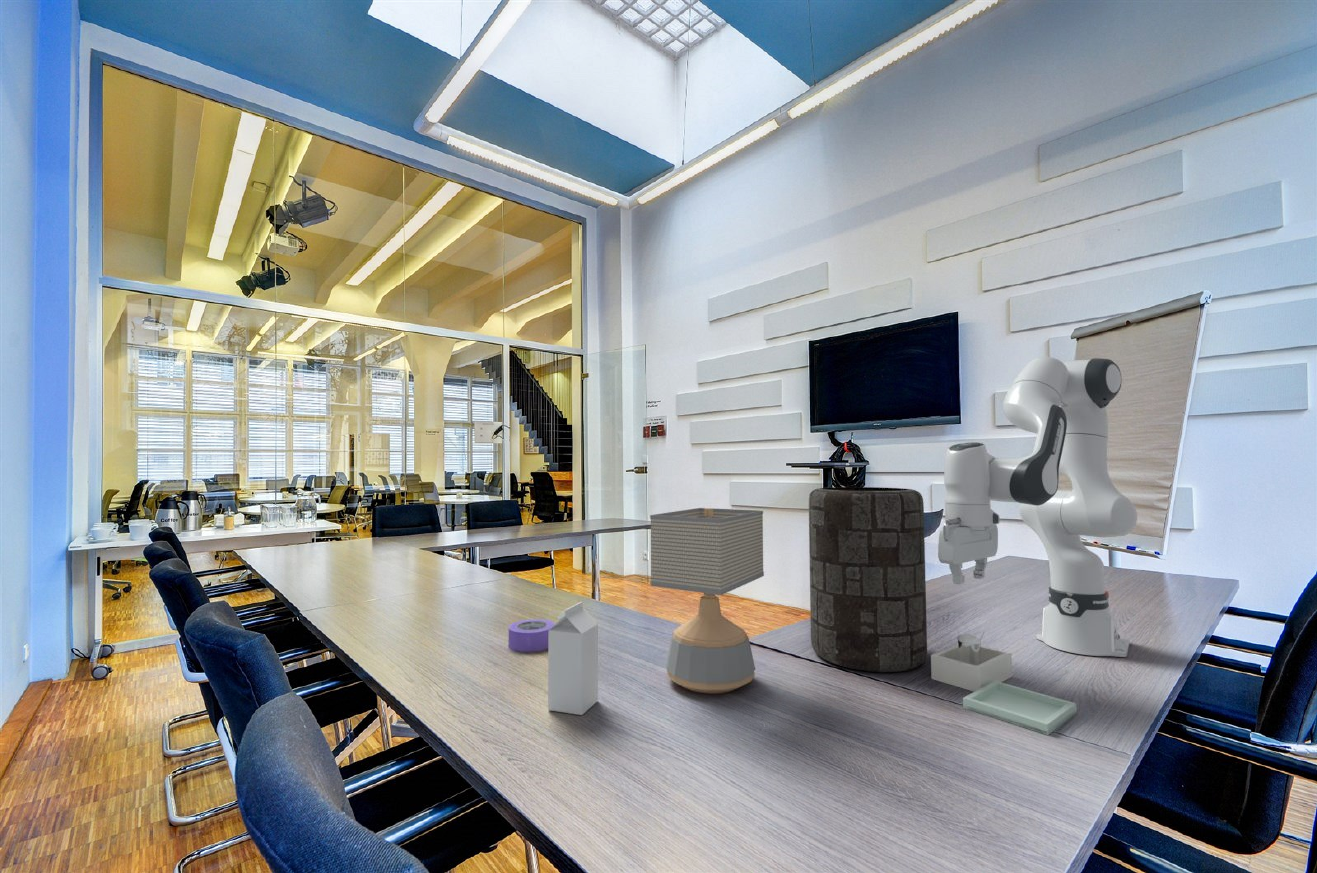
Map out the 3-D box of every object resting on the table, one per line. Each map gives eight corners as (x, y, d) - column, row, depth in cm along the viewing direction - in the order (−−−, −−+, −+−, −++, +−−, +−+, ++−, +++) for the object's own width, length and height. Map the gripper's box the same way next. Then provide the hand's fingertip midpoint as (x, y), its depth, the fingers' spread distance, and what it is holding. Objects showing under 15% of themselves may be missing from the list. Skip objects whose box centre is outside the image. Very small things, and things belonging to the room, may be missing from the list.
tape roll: (549, 652, 142) (550, 632, 143) (502, 652, 143) (502, 632, 143) (558, 638, 154) (558, 619, 154) (515, 638, 154) (515, 619, 155)
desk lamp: (729, 710, 108) (727, 514, 110) (644, 689, 118) (644, 510, 120) (771, 674, 127) (769, 506, 128) (695, 659, 137) (694, 503, 138)
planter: (950, 660, 135) (945, 489, 137) (882, 685, 120) (878, 493, 122) (855, 633, 157) (853, 485, 159) (788, 651, 142) (786, 488, 144)
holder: (964, 663, 133) (964, 641, 133) (1012, 676, 125) (1011, 653, 125) (931, 679, 124) (930, 655, 124) (980, 693, 116) (979, 668, 116)
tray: (995, 689, 118) (995, 680, 118) (1076, 713, 106) (1076, 703, 107) (963, 707, 109) (962, 698, 109) (1047, 735, 98) (1047, 724, 98)
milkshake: (989, 682, 121) (988, 634, 122) (961, 680, 122) (960, 633, 123) (981, 674, 126) (980, 628, 126) (955, 673, 127) (954, 627, 127)
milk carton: (598, 701, 113) (598, 603, 114) (581, 716, 106) (582, 612, 107) (565, 696, 115) (566, 600, 116) (547, 711, 108) (548, 609, 109)
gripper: (959, 520, 117) (961, 589, 116) (1003, 515, 129) (1004, 577, 129) (929, 518, 122) (930, 584, 121) (973, 513, 134) (975, 573, 134)
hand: (969, 581), depth 125 cm, fingers open, 8 cm apart
